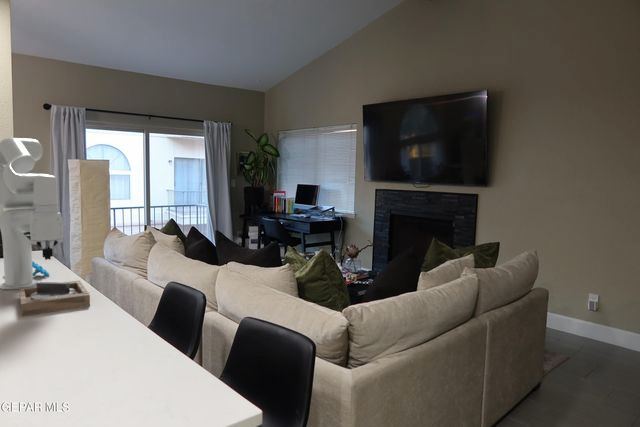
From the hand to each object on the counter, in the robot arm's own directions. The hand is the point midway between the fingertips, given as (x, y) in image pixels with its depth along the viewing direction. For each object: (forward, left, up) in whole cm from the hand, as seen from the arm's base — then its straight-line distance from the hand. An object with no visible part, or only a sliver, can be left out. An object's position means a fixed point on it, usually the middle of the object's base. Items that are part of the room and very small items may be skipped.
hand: (47, 258), depth 161 cm
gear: (-37, +19, -16) cm, 44 cm away
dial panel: (+4, -1, -15) cm, 16 cm away
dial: (+4, -1, -14) cm, 14 cm away
